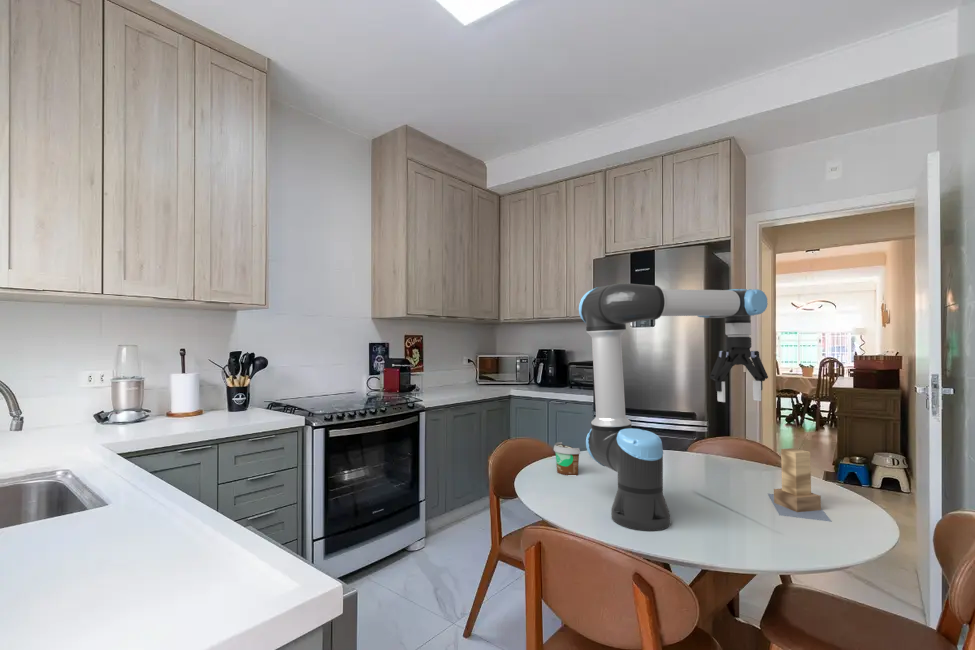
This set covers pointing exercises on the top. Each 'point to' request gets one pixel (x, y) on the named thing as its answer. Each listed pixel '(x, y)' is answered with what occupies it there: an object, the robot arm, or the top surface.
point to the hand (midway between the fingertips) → (739, 401)
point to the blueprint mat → (807, 515)
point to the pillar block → (796, 471)
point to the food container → (566, 459)
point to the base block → (797, 501)
